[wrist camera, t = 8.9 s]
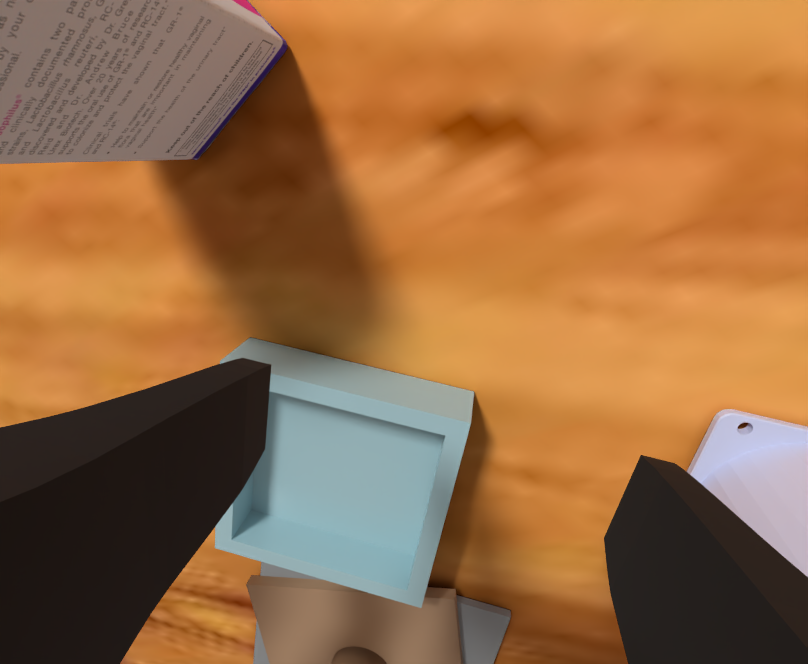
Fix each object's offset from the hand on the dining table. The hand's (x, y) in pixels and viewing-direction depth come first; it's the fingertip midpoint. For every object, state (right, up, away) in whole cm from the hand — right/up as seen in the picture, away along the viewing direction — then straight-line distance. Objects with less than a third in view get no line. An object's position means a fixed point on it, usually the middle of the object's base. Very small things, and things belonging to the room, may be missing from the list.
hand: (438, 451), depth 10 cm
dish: (-3, -4, +13) cm, 14 cm away
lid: (-3, -16, +18) cm, 24 cm away
